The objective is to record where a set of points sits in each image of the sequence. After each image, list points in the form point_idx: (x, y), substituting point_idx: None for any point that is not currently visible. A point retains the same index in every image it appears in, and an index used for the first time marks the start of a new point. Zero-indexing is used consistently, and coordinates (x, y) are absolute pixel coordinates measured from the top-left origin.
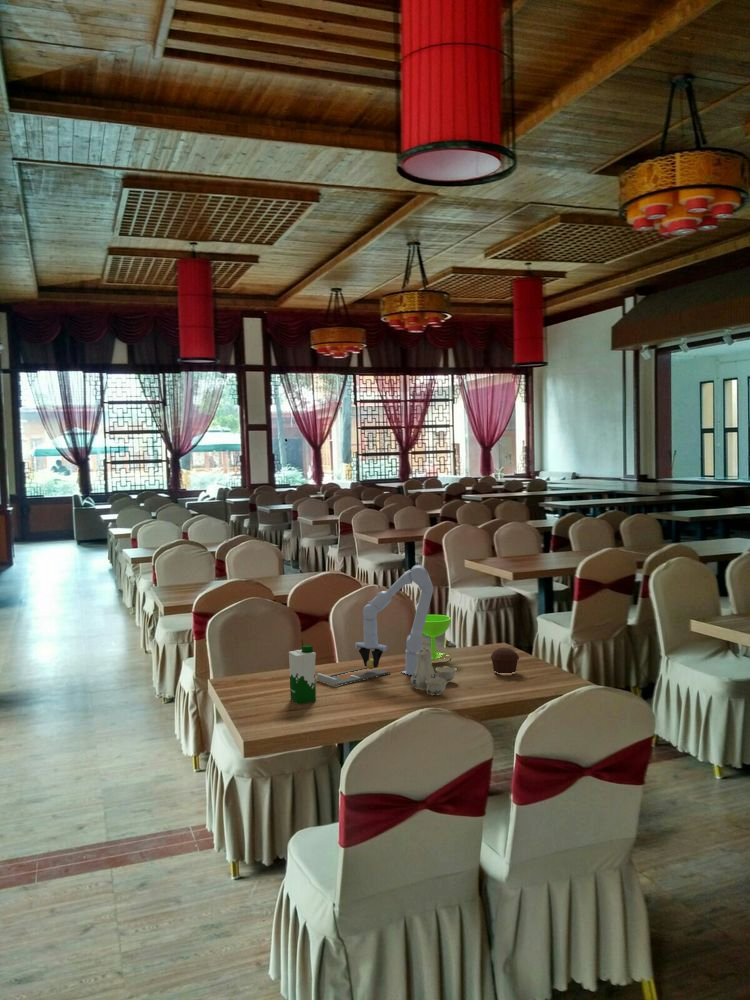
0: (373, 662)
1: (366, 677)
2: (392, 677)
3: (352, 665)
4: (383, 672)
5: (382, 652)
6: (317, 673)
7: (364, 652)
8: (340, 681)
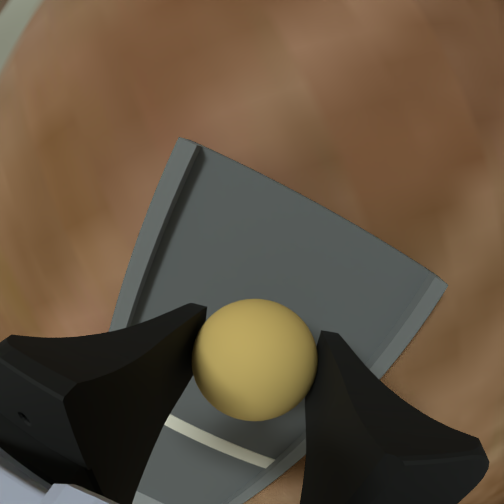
0: (295, 404)
1: (295, 458)
2: (463, 354)
3: (31, 128)
4: (400, 348)
5: (457, 440)
6: None
7: (130, 486)
8: (187, 495)
